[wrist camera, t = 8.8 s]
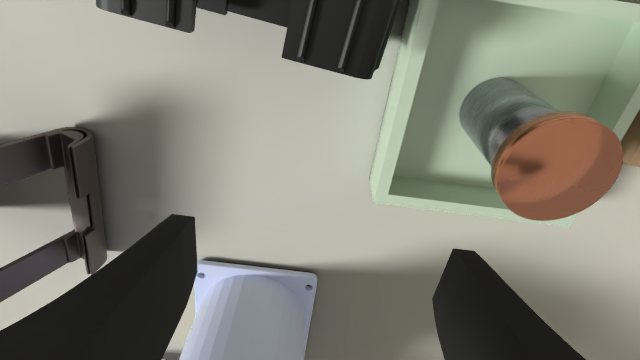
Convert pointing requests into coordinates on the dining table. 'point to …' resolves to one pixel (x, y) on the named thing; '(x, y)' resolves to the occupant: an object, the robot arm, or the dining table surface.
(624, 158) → the pulley block
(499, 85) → the grey brown cylinder
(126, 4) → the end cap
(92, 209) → the portable electronic device stand
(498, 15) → the tray
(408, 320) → the dining table surface
